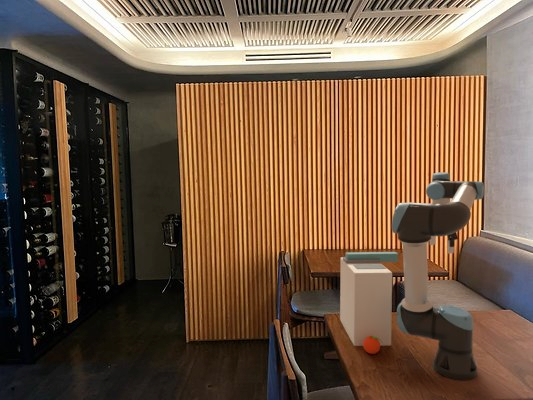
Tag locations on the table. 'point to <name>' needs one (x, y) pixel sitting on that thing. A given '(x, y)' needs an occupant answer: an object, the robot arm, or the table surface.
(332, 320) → the table surface
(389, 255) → the teal block
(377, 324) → the tall cream box
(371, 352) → the tomato
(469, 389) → the table surface
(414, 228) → the robot arm
